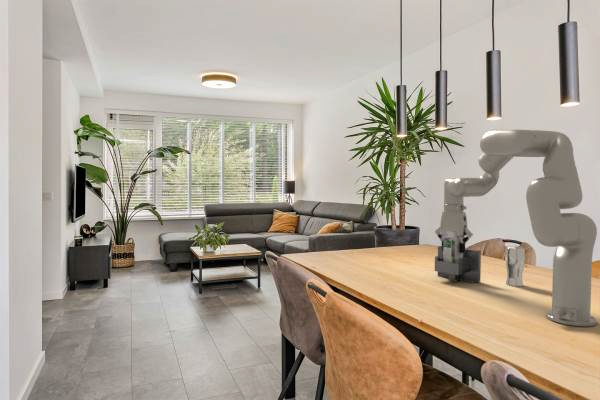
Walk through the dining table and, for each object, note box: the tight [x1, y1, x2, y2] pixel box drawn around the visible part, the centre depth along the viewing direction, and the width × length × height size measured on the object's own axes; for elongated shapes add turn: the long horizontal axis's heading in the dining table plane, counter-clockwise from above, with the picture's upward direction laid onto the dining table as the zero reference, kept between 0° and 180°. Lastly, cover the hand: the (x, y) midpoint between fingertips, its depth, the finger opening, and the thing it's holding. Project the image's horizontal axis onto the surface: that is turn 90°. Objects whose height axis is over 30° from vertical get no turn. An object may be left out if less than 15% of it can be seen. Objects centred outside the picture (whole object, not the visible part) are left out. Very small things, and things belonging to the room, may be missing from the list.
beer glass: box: [504, 245, 526, 288], centre depth 165 cm, size 7×7×15 cm
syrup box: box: [443, 231, 463, 263], centre depth 171 cm, size 6×6×14 cm
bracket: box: [434, 245, 482, 284], centre depth 172 cm, size 11×18×13 cm, turn 42°
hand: (453, 251), depth 171 cm, fingers closed on syrup box, 6 cm apart
